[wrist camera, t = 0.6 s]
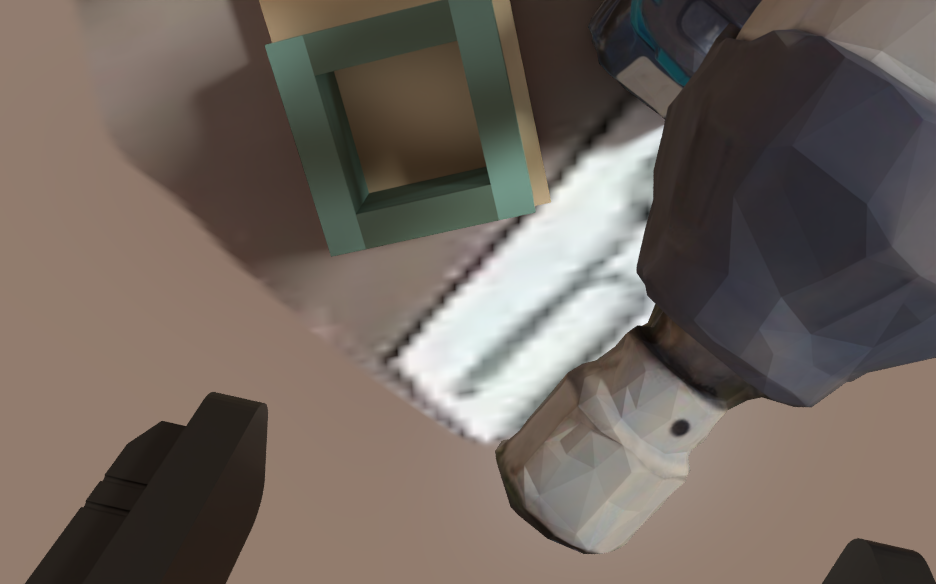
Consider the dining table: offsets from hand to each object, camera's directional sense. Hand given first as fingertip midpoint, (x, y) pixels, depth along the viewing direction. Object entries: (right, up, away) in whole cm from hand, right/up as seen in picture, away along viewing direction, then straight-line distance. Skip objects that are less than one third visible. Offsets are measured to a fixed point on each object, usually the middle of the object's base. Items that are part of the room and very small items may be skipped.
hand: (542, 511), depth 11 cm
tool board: (-5, +17, +22) cm, 28 cm away
